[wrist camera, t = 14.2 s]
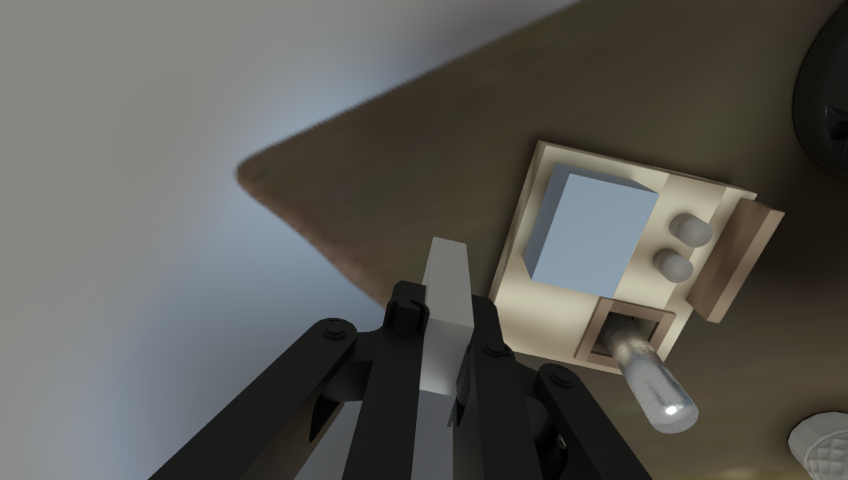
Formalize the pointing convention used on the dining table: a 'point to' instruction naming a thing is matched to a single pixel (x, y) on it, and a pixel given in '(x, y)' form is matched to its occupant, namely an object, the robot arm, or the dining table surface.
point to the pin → (648, 376)
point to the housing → (587, 230)
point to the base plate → (633, 262)
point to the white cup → (822, 445)
